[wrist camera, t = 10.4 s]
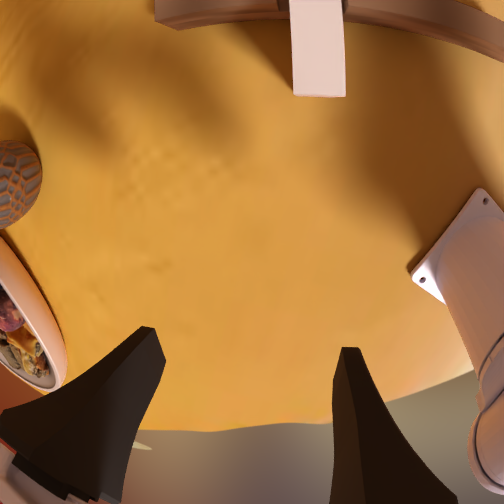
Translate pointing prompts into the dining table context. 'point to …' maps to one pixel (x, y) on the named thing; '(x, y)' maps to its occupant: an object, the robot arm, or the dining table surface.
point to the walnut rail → (354, 18)
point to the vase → (17, 181)
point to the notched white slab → (317, 48)
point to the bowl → (28, 328)
